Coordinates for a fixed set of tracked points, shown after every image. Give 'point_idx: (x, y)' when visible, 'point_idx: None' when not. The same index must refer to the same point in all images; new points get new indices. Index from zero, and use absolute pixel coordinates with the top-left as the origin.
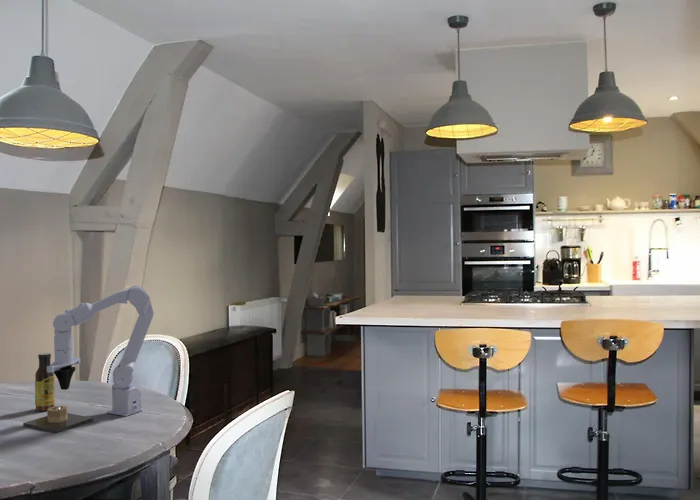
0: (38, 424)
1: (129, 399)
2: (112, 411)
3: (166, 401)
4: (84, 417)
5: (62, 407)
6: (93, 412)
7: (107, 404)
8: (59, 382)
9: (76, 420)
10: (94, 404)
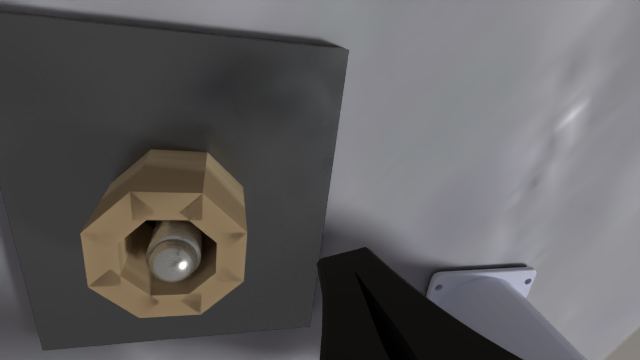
0: (30, 170)
1: None
2: (442, 298)
3: (618, 331)
4: (297, 290)
5: (216, 263)
6: (433, 201)
7: (584, 146)
8: (322, 338)
9: (234, 301)
10: (587, 69)
